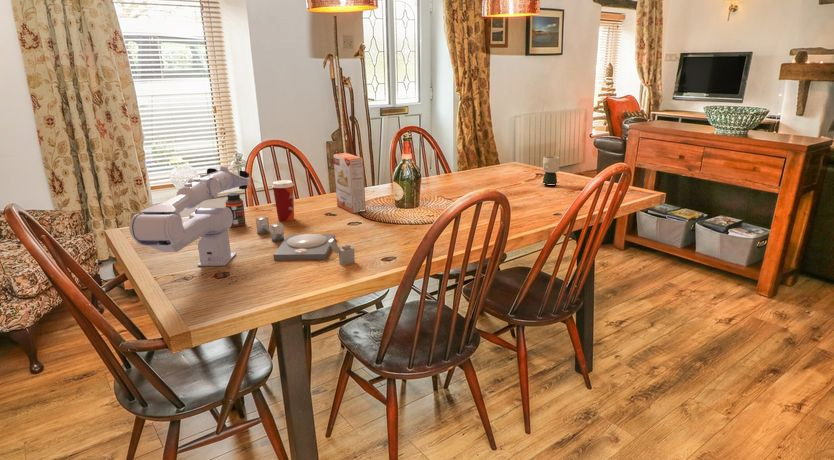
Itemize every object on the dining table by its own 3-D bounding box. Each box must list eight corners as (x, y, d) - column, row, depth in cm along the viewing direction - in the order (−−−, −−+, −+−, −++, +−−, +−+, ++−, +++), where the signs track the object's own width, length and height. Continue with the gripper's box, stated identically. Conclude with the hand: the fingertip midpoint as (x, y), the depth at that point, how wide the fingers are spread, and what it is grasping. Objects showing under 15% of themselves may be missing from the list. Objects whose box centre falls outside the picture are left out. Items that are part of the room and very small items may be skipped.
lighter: (352, 260, 149) (350, 234, 147) (355, 262, 148) (353, 235, 145) (329, 266, 145) (327, 239, 143) (332, 267, 144) (330, 240, 142)
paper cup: (298, 221, 188) (295, 183, 183) (276, 223, 185) (272, 185, 181) (295, 215, 195) (291, 178, 190) (274, 217, 192) (270, 180, 188)
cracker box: (336, 206, 206) (332, 153, 199) (349, 204, 209) (346, 152, 203) (352, 214, 195) (348, 158, 188) (366, 211, 198) (363, 157, 191)
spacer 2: (282, 241, 166) (281, 227, 164) (270, 242, 166) (268, 227, 164) (285, 237, 170) (284, 223, 168) (273, 238, 170) (271, 223, 168)
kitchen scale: (325, 259, 150) (324, 252, 150) (273, 259, 151) (273, 252, 150) (335, 239, 168) (334, 232, 167) (288, 239, 168) (288, 233, 167)
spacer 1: (267, 234, 174) (266, 220, 172) (255, 234, 174) (254, 220, 172) (271, 230, 177) (269, 216, 176) (259, 230, 177) (257, 216, 176)
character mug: (549, 182, 239) (551, 154, 235) (563, 185, 234) (565, 156, 230) (535, 186, 232) (537, 157, 228) (549, 189, 227) (551, 159, 223)
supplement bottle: (240, 227, 181) (236, 196, 177) (224, 227, 182) (220, 195, 179) (249, 222, 186) (245, 192, 183) (233, 222, 188) (229, 191, 184)
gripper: (241, 170, 150) (258, 164, 163) (192, 166, 150) (213, 160, 163) (242, 194, 152) (258, 186, 165) (193, 190, 152) (213, 183, 165)
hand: (236, 175), depth 164 cm, fingers open, 7 cm apart
